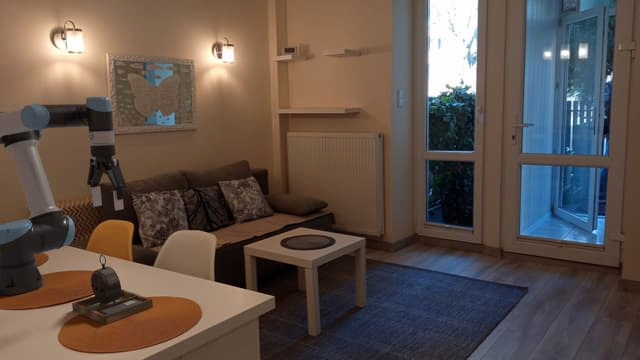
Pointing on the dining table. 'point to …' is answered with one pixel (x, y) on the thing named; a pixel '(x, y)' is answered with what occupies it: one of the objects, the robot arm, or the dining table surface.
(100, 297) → the alarm clock
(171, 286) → the dining table surface
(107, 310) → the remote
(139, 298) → the organizer tray
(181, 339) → the dining table surface
